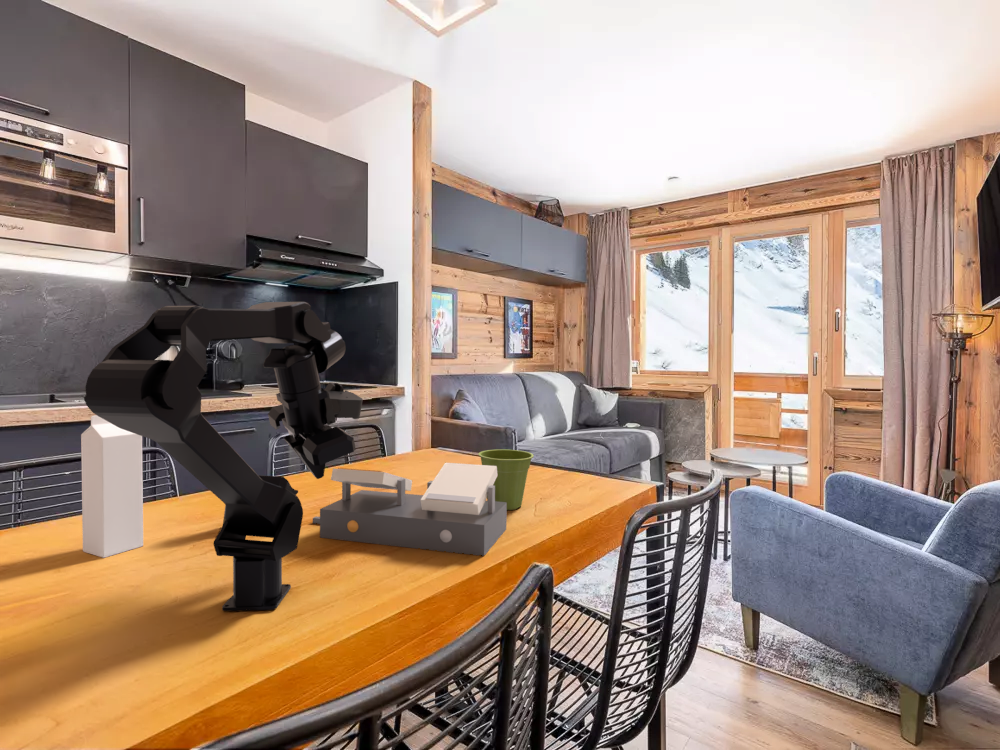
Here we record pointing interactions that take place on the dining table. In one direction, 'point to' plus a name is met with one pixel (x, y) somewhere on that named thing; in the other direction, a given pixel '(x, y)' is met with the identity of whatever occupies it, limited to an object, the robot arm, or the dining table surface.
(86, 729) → the dining table surface
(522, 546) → the dining table surface
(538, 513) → the dining table surface
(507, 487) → the plant pot
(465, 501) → the white rocker
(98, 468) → the milk
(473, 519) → the rocker switch box
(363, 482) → the orange striped rocker plate
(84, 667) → the dining table surface
